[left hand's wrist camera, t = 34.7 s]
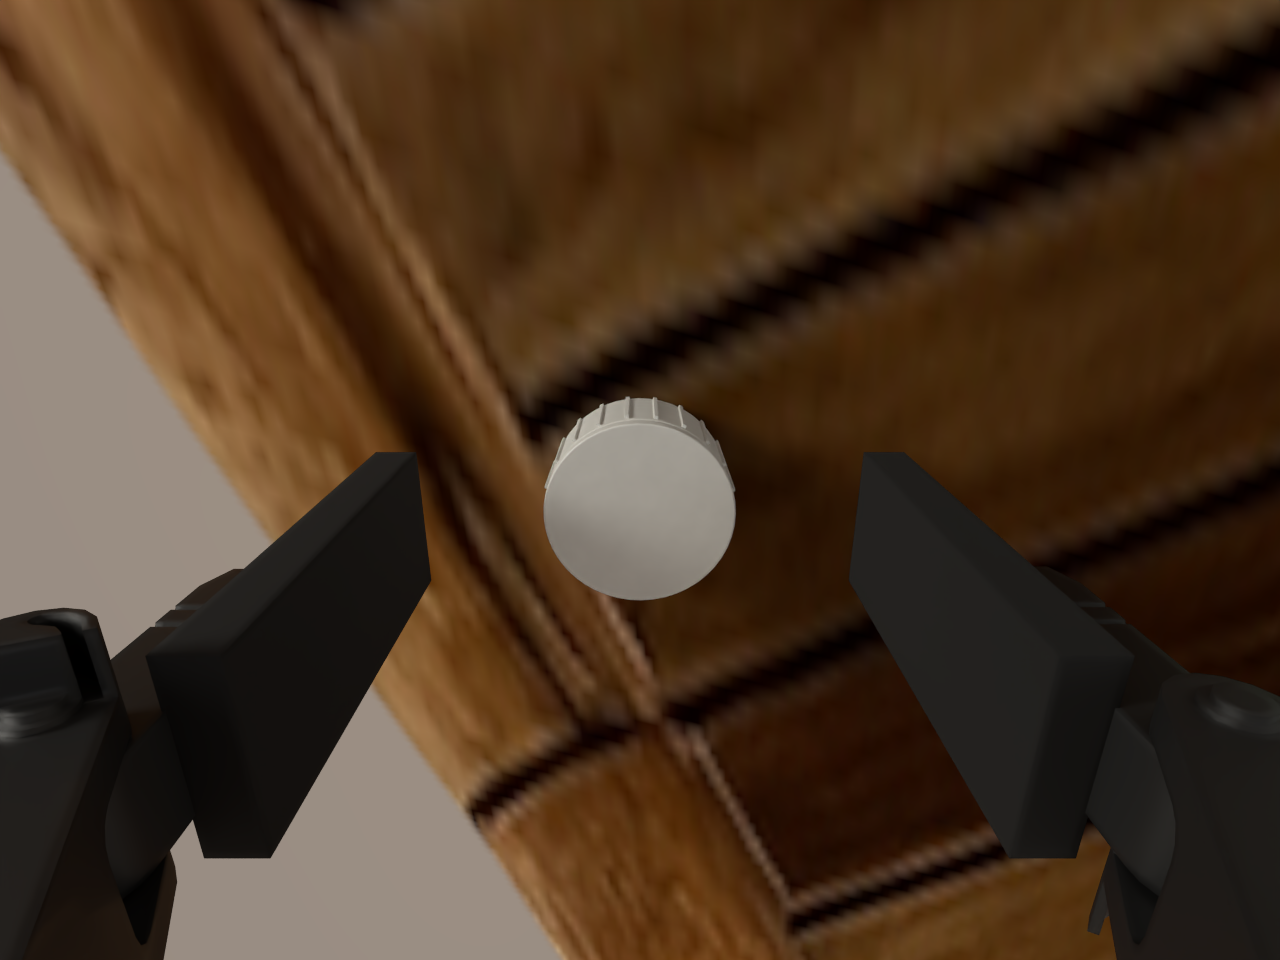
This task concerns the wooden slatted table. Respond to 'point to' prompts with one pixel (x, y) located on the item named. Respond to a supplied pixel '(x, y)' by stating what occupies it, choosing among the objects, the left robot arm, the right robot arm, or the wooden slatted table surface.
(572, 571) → the cap
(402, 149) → the wooden slatted table surface
